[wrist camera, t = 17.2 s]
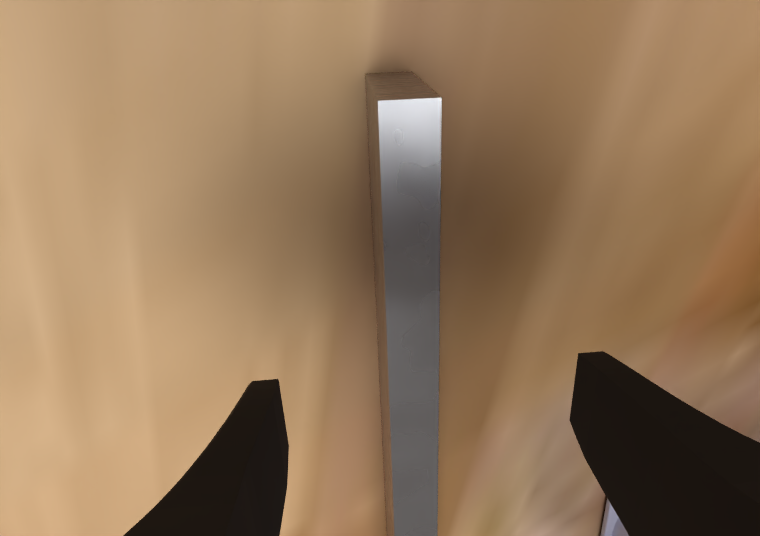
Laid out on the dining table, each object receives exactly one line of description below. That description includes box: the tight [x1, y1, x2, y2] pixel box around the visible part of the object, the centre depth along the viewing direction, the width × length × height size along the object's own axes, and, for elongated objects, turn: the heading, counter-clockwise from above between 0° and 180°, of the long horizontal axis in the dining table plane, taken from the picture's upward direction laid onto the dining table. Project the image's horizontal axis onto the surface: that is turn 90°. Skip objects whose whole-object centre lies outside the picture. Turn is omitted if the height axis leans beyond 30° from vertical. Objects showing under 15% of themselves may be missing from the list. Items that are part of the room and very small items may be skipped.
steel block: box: [365, 72, 442, 536], centre depth 22 cm, size 2×27×6 cm, turn 2°
